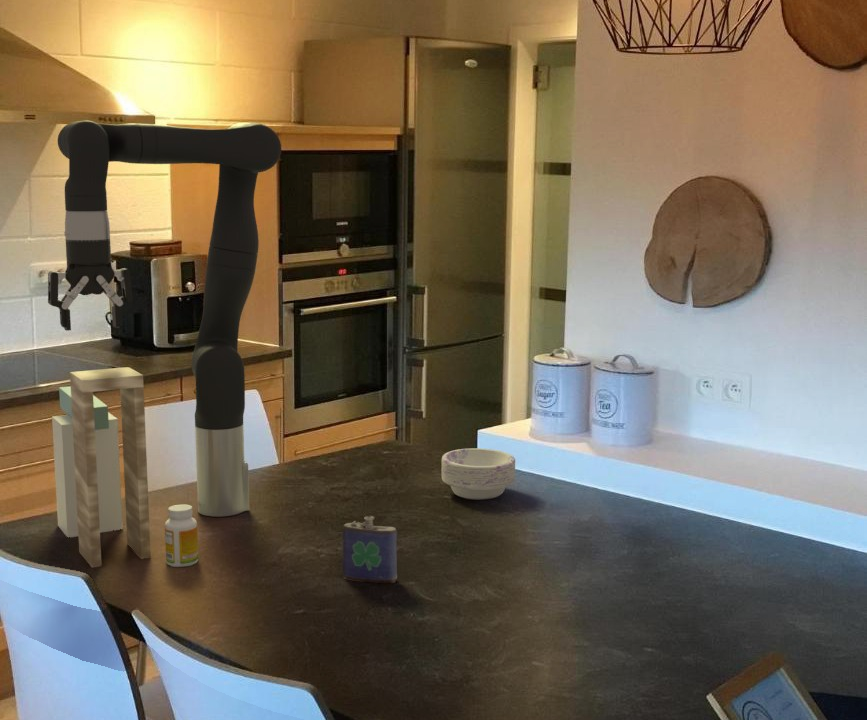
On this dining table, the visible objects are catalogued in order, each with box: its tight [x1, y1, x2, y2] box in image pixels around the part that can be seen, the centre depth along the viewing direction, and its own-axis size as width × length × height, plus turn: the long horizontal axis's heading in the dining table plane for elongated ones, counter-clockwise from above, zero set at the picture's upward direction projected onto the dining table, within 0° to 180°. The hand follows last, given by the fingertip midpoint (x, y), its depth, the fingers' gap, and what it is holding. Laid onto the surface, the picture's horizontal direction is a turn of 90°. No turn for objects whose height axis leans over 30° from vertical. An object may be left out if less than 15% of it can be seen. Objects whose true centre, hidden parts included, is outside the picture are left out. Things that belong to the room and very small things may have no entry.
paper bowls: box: [441, 447, 516, 501], centre depth 233 cm, size 15×15×8 cm
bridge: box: [69, 366, 152, 569], centre depth 194 cm, size 10×9×32 cm
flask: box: [342, 515, 398, 584], centre depth 184 cm, size 9×3×11 cm, turn 74°
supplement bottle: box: [164, 503, 199, 568], centre depth 192 cm, size 5×5×10 cm
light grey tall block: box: [51, 411, 124, 539], centre depth 210 cm, size 10×8×21 cm
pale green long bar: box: [58, 385, 109, 430], centre depth 207 cm, size 4×22×4 cm, turn 29°
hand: (92, 328), depth 201 cm, fingers open, 8 cm apart
